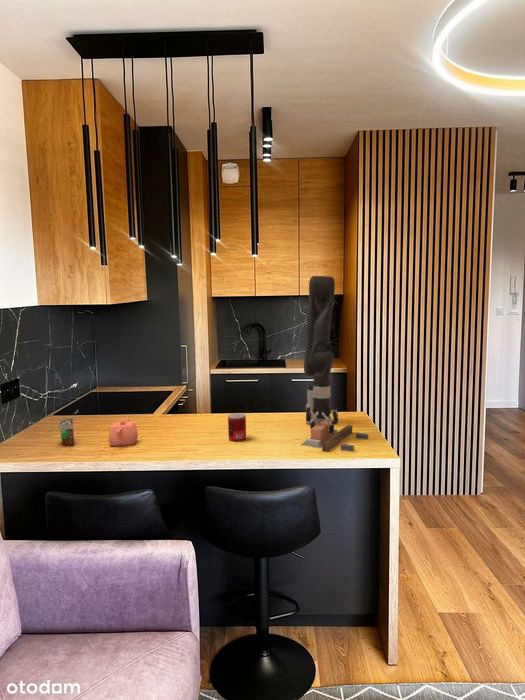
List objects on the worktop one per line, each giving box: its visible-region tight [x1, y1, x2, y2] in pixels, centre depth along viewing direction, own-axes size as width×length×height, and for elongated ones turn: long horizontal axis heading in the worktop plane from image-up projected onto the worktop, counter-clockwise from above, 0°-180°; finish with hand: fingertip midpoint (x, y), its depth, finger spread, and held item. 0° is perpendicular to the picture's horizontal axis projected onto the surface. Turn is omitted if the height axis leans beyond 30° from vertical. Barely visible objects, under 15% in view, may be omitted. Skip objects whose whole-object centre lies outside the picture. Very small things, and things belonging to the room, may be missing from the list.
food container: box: [57, 417, 75, 447], centre depth 228 cm, size 12×6×10 cm, turn 21°
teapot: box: [108, 416, 139, 447], centre depth 227 cm, size 12×18×10 cm, turn 1°
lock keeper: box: [300, 428, 338, 449], centre depth 226 cm, size 10×22×2 cm, turn 150°
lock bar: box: [310, 421, 333, 443], centre depth 225 cm, size 4×14×6 cm, turn 150°
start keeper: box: [340, 431, 369, 452], centre depth 218 cm, size 5×20×2 cm, turn 150°
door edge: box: [321, 424, 353, 453], centre depth 222 cm, size 2×30×4 cm, turn 151°
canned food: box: [227, 412, 247, 443], centre depth 228 cm, size 8×8×11 cm
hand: (322, 431), depth 226 cm, fingers open, 8 cm apart
